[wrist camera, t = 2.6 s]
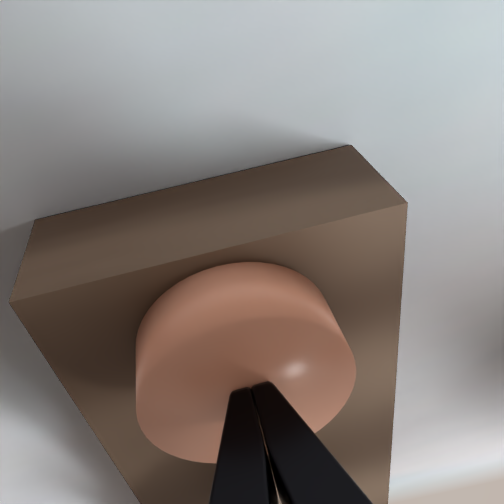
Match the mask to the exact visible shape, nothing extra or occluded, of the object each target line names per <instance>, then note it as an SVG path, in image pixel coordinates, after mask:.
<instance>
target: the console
mask: <svg viewBox="0 0 504 504" xmlns="http://www.w3.org/2000/svg"><path fill="white" fill-rule="evenodd" d="M407 205H408V203H407V202H406V201H405V199H404V198H403V197H402V196H401V195H400V194H399V193H398V192H397V191H396V190H395V189H394V188H393V187H392V186H391V185H390V184H389V183H388V182H387V181H386V180H385V179H384V178H383V177H382V176H381V175H380V174H379V173H378V172H377V171H376V170H375V169H374V168H373V167H372V166H371V165H370V163H369V162H368V161H367V160H366V159H365V158H364V157H363V156H362V155H361V154H360V153H359V152H358V151H357V150H356V149H355V148H354V147H353V146H352V145H349V146H345V147H340V148H336V149H332V150H328V151H324V152H319V153H315V154H311V155H307V156H303V157H298V158H294V159H290V160H286V161H281V162H277V163H273V164H269V165H265V166H260V167H256V168H252V169H248V170H244V171H239V172H235V173H231V174H227V175H222V176H218V177H214V178H210V179H206V180H201V181H197V182H193V183H189V184H185V185H180V186H176V187H172V188H168V189H164V190H159V191H155V192H151V193H147V194H142V195H138V196H134V197H130V198H126V199H121V200H117V201H113V202H109V203H105V204H100V205H96V206H92V207H88V208H83V209H79V210H75V211H71V212H67V213H62V214H58V215H54V216H50V217H46V218H41V219H37V220H35V222H34V225H33V228H32V231H31V235H30V238H29V241H28V244H27V247H26V250H25V253H24V256H23V259H22V263H21V266H20V269H19V272H18V275H17V278H16V281H15V284H14V287H13V291H12V294H11V297H10V300H9V304H10V305H11V307H12V308H13V310H14V311H15V313H16V314H17V316H18V317H19V319H20V320H21V322H22V323H23V325H24V326H25V328H26V330H27V331H28V333H29V334H30V336H31V337H32V339H33V340H34V342H35V343H36V345H37V346H38V348H39V349H40V351H41V352H42V354H43V355H44V357H45V359H46V360H47V362H48V363H49V365H50V366H51V368H52V369H53V371H54V372H55V374H56V375H57V377H58V378H59V380H60V381H61V383H62V384H63V386H64V388H65V389H66V391H67V392H68V394H69V395H70V397H71V398H72V400H73V401H74V403H75V404H76V406H77V407H78V409H79V410H80V412H81V413H82V415H83V417H84V418H85V420H86V421H87V423H88V424H89V426H90V427H91V429H92V430H93V432H94V433H95V435H96V436H97V438H98V439H99V441H100V442H101V444H102V446H103V447H104V449H105V450H106V452H107V453H108V455H109V456H110V458H111V459H112V461H113V462H114V464H115V465H116V467H117V468H118V470H119V471H120V473H121V475H122V476H123V478H124V479H125V481H126V482H127V484H128V485H129V487H130V488H131V490H132V491H133V493H134V494H135V496H136V497H137V499H138V500H139V502H140V503H141V504H208V503H209V498H210V493H211V488H212V483H213V477H214V472H215V467H216V463H202V462H195V461H189V460H185V459H181V458H178V457H176V456H173V455H170V454H168V453H166V452H164V451H162V450H161V449H159V448H158V447H156V446H155V445H154V444H152V443H151V442H150V441H149V440H148V439H147V438H146V436H145V435H144V433H143V432H142V430H141V428H140V426H139V423H138V420H137V414H136V337H137V332H138V329H139V326H140V324H141V321H142V319H143V317H144V316H145V314H146V313H147V311H148V309H149V308H150V307H151V306H152V305H153V303H154V302H155V301H156V300H157V299H158V298H159V297H160V296H161V295H162V294H163V293H165V292H166V291H167V290H168V289H170V288H171V287H172V286H174V285H175V284H177V283H178V282H180V281H182V280H184V279H185V278H187V277H189V276H191V275H194V274H196V273H198V272H201V271H203V270H206V269H209V268H213V267H216V266H220V265H225V264H230V263H239V262H263V263H270V264H276V265H279V266H283V267H287V268H289V269H291V270H294V271H296V272H298V273H300V274H302V275H303V276H305V277H306V278H308V279H309V280H310V281H311V282H313V283H314V284H315V285H316V287H317V288H318V289H319V290H320V291H321V293H322V295H323V296H324V298H325V300H326V302H327V304H328V306H329V308H330V310H331V312H332V314H333V316H334V318H335V320H336V322H337V324H338V326H339V327H340V329H341V331H342V333H343V335H344V337H345V339H346V341H347V343H348V345H349V347H350V349H351V351H352V353H353V356H354V359H355V363H356V380H355V383H354V387H353V390H352V392H351V394H350V397H349V398H348V400H347V402H346V403H345V405H344V406H343V408H342V409H341V410H340V411H339V413H338V414H337V415H336V416H335V417H334V418H333V419H332V420H331V421H330V422H329V423H328V424H326V425H325V426H324V427H323V428H322V429H320V430H319V431H317V432H316V433H315V434H316V435H317V437H318V438H319V439H320V440H321V441H322V443H323V444H324V445H325V446H326V447H327V449H328V450H329V451H330V452H331V454H332V455H333V456H334V457H335V458H336V460H337V461H338V462H339V463H340V464H341V466H342V467H343V468H344V469H345V470H346V472H347V473H348V474H349V475H350V476H351V478H352V479H353V480H354V481H355V482H356V484H357V485H358V486H359V487H360V488H361V490H362V491H363V492H364V493H365V494H366V496H367V497H368V498H369V499H370V500H371V502H372V503H373V504H388V493H389V478H390V463H391V448H392V432H393V417H394V402H395V387H396V372H397V357H398V341H399V326H400V311H401V296H402V281H403V265H404V250H405V235H406V220H407ZM268 458H269V457H268ZM269 462H270V461H269ZM270 466H271V465H270Z"/></svg>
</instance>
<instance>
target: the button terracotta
mask: <svg viewBox="0 0 504 504" xmlns="http://www.w3.org/2000/svg"><path fill="white" fill-rule="evenodd" d="M355 380H356V363H355V359H354V356H353V353H352V351H351V349H350V347H349V345H348V343H347V341H346V339H345V337H344V335H343V333H342V331H341V329H340V327H339V326H338V324H337V322H336V320H335V318H334V316H333V314H332V312H331V310H330V308H329V306H328V304H327V302H326V300H325V298H324V296H323V295H322V293H321V291H320V290H319V289H318V288H317V287H316V285H315V284H314V283H313V282H311V281H310V280H309V279H308V278H306V277H305V276H303V275H302V274H300V273H298V272H296V271H294V270H291V269H289V268H287V267H283V266H279V265H276V264H270V263H263V262H239V263H230V264H225V265H220V266H216V267H213V268H209V269H206V270H203V271H201V272H198V273H196V274H194V275H191V276H189V277H187V278H185V279H184V280H182V281H180V282H178V283H177V284H175V285H174V286H172V287H171V288H170V289H168V290H167V291H166V292H165V293H163V294H162V295H161V296H160V297H159V298H158V299H157V300H156V301H155V302H154V303H153V305H152V306H151V307H150V308H149V309H148V311H147V313H146V314H145V316H144V317H143V319H142V321H141V324H140V326H139V329H138V332H137V337H136V414H137V420H138V423H139V426H140V428H141V430H142V432H143V433H144V435H145V436H146V438H147V439H148V440H149V441H150V442H151V443H152V444H154V445H155V446H156V447H158V448H159V449H161V450H162V451H164V452H166V453H168V454H170V455H173V456H176V457H178V458H181V459H185V460H189V461H195V462H202V463H216V462H217V457H218V452H219V447H220V441H221V436H222V431H223V426H224V421H225V416H226V411H227V405H228V400H229V396H230V393H231V392H232V391H234V390H237V389H241V388H245V387H250V388H251V390H252V386H253V385H256V384H259V383H263V382H267V381H270V382H272V383H273V384H274V385H275V386H276V387H277V388H278V390H279V391H280V392H281V393H282V395H283V396H284V397H285V398H286V399H287V401H288V402H289V403H290V404H291V405H292V407H293V408H294V409H295V410H296V411H297V413H298V414H299V415H300V416H301V417H302V419H303V420H304V421H305V422H306V423H307V425H308V426H309V427H310V428H311V429H312V431H313V432H314V433H316V432H317V431H319V430H320V429H322V428H323V427H324V426H325V425H326V424H328V423H329V422H330V421H331V420H332V419H333V418H334V417H335V416H336V415H337V414H338V413H339V411H340V410H341V409H342V408H343V406H344V405H345V403H346V402H347V400H348V398H349V397H350V394H351V392H352V390H353V387H354V383H355ZM252 394H253V393H252ZM253 398H254V397H253ZM254 402H255V401H254ZM255 406H256V405H255ZM256 410H257V409H256ZM257 414H258V413H257ZM258 418H259V417H258ZM259 422H260V421H259ZM260 426H261V425H260ZM261 430H262V429H261ZM262 434H263V433H262ZM263 438H264V437H263ZM264 442H265V441H264ZM265 446H266V445H265ZM266 450H267V449H266ZM267 454H268V453H267Z"/></svg>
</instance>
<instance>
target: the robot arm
mask: <svg viewBox="0 0 504 504" xmlns="http://www.w3.org/2000/svg"><path fill="white" fill-rule="evenodd" d="M252 393H253V394H252ZM253 397H254V398H253ZM254 401H255V402H254ZM255 405H256V406H255ZM256 409H257V410H256ZM257 413H258V414H257ZM258 417H259V418H258ZM259 421H260V422H259ZM260 425H261V426H260ZM261 429H262V430H261ZM262 433H263V434H262ZM263 437H264V438H263ZM264 441H265V442H264ZM265 445H266V446H265ZM266 449H267V450H266ZM267 453H268V454H267ZM268 457H269V458H268ZM269 461H270V462H269ZM270 465H271V466H270ZM271 469H272V470H271ZM272 473H273V474H272ZM273 477H274V478H273ZM274 480H275V482H274ZM275 484H276V486H275ZM276 488H277V490H276ZM277 491H278V495H279V498H280V501H281V503H282V504H373V503H372V502H371V500H370V499H369V498H368V497H367V496H366V494H365V493H364V492H363V491H362V490H361V488H360V487H359V486H358V485H357V484H356V482H355V481H354V480H353V479H352V478H351V476H350V475H349V474H348V473H347V472H346V470H345V469H344V468H343V467H342V466H341V464H340V463H339V462H338V461H337V460H336V458H335V457H334V456H333V455H332V454H331V452H330V451H329V450H328V449H327V447H326V446H325V445H324V444H323V443H322V441H321V440H320V439H319V438H318V437H317V435H316V434H315V433H314V432H313V431H312V429H311V428H310V427H309V426H308V425H307V423H306V422H305V421H304V420H303V419H302V417H301V416H300V415H299V414H298V413H297V411H296V410H295V409H294V408H293V407H292V405H291V404H290V403H289V402H288V401H287V399H286V398H285V397H284V396H283V395H282V393H281V392H280V391H279V390H278V388H277V387H276V386H275V385H274V384H273V383H272V382H270V381H267V382H263V383H259V384H256V385H253V386H252V390H251V388H250V387H245V388H241V389H237V390H234V391H232V392H231V393H230V396H229V400H228V405H227V411H226V416H225V421H224V426H223V431H222V436H221V441H220V447H219V452H218V457H217V462H216V467H215V472H214V477H213V483H212V488H211V493H210V498H209V503H208V504H279V501H278V495H277Z"/></svg>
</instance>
